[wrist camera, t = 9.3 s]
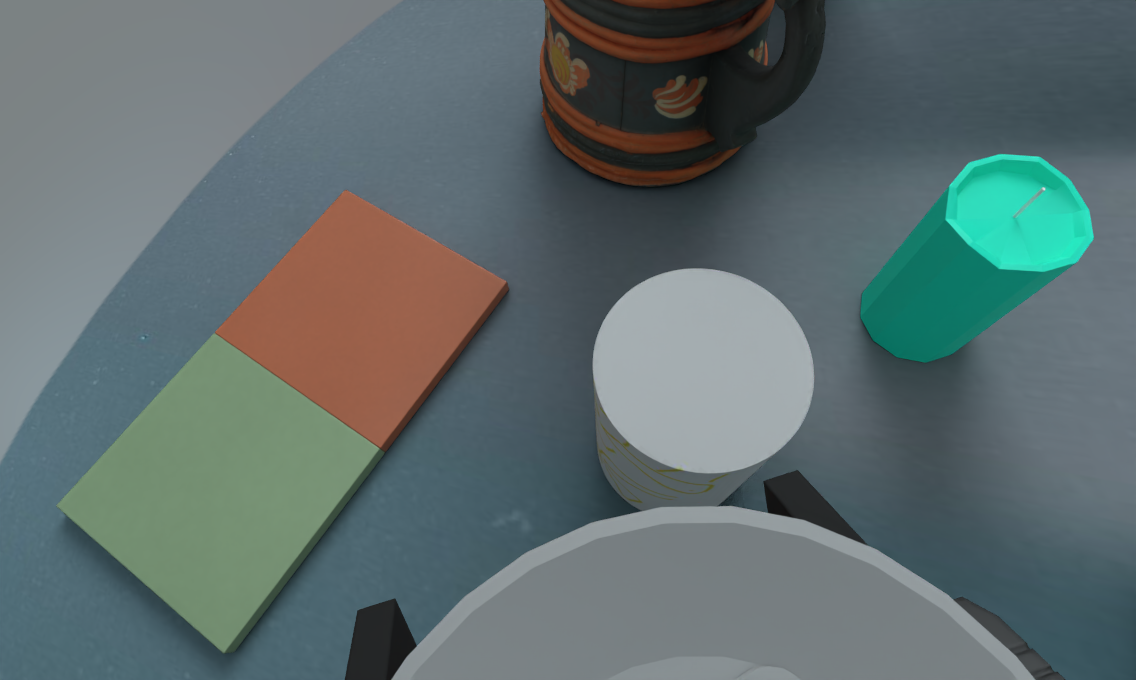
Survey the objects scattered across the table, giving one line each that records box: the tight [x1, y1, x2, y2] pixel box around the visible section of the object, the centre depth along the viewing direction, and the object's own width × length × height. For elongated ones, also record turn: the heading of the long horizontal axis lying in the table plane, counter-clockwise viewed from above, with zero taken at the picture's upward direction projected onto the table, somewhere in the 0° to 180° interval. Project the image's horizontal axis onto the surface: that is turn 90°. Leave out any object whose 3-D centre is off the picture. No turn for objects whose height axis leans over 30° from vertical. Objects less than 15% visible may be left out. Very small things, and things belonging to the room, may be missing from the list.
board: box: [57, 190, 509, 653], centre depth 37 cm, size 24×13×1 cm, turn 147°
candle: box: [860, 154, 1094, 363], centre depth 31 cm, size 6×6×12 cm
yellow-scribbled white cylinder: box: [593, 268, 814, 511], centre depth 29 cm, size 8×8×12 cm
